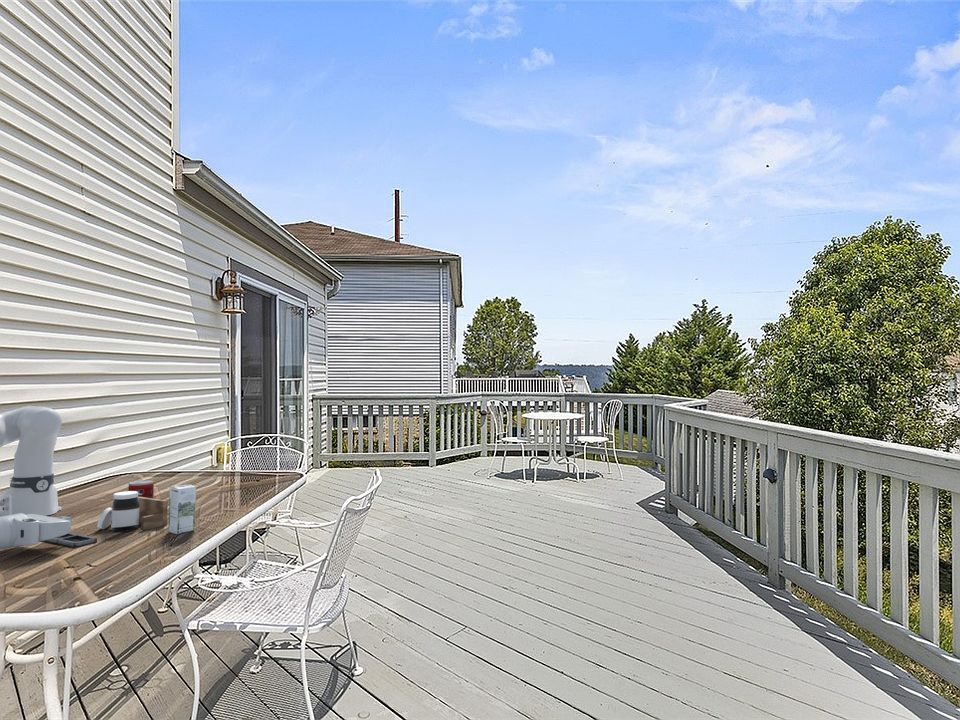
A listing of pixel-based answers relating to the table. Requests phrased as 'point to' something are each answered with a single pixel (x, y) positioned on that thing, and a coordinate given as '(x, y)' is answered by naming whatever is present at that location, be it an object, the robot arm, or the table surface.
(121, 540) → the table surface
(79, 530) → the table surface
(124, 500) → the spread jar
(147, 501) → the brown box
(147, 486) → the canned food
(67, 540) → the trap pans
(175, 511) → the syrup box
